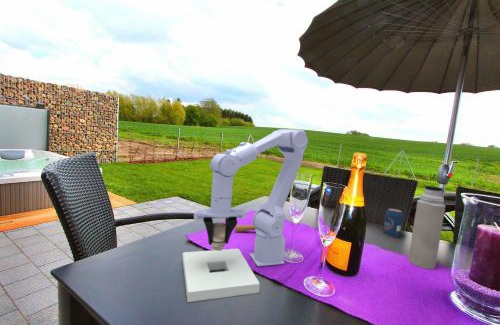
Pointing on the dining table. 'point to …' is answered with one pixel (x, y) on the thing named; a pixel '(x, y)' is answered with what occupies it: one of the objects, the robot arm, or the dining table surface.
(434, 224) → the thermos bottle
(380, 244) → the dining table surface
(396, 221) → the soda can
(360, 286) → the dining table surface
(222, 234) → the birch peg
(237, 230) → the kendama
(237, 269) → the hole board
